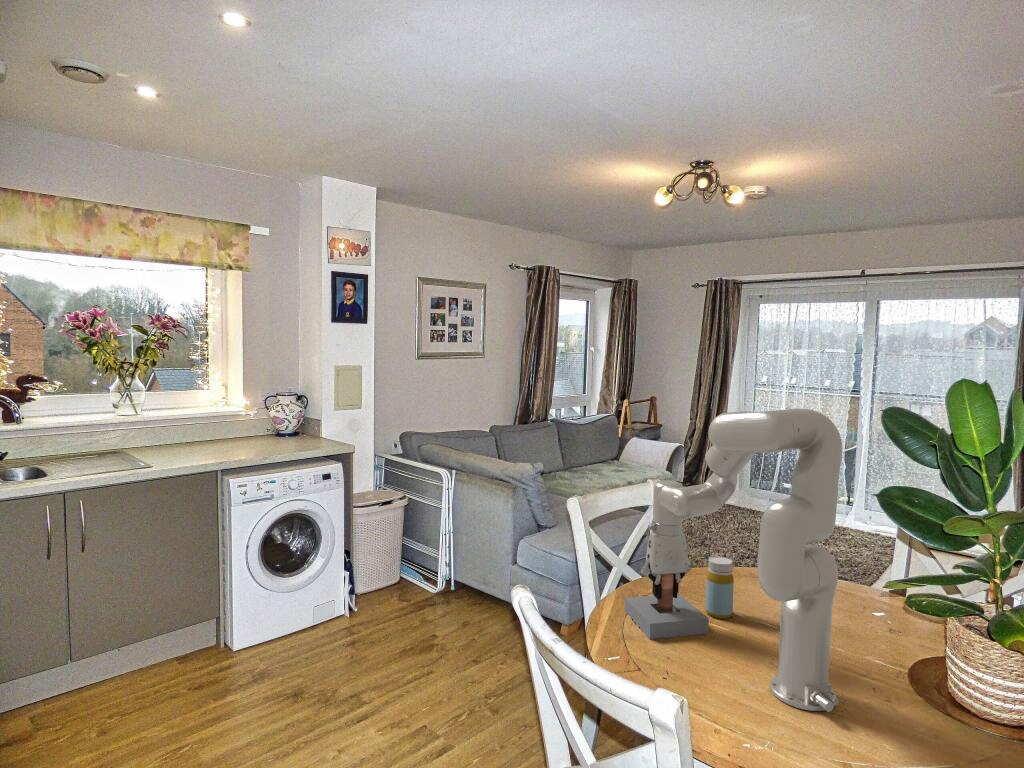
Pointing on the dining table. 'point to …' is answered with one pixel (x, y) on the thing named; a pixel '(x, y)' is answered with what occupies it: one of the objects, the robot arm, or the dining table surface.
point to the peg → (666, 593)
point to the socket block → (666, 617)
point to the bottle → (719, 588)
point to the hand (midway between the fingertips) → (665, 596)
